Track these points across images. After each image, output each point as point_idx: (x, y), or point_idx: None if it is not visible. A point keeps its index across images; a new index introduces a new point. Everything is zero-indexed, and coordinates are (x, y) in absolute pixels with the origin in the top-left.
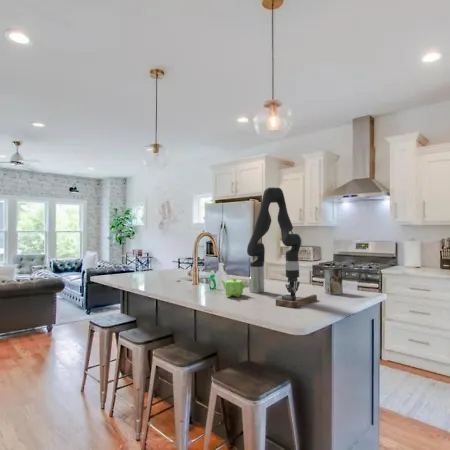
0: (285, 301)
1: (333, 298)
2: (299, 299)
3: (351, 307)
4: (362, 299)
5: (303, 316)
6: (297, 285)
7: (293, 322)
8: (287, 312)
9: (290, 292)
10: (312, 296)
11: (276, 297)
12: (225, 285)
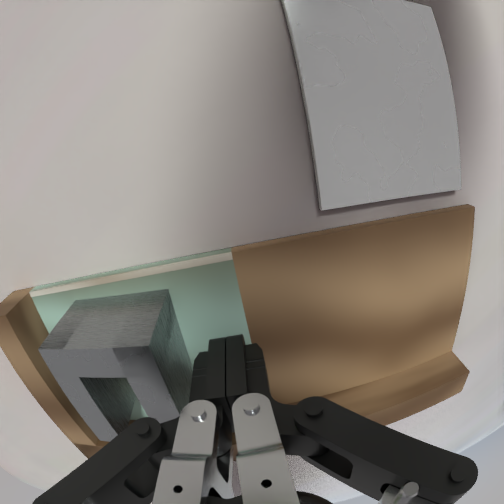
0: (41, 402)
1: (497, 372)
2: None
3: (334, 500)
4: (489, 425)
5: (59, 473)
6: (367, 492)
7: (8, 461)
8: (21, 424)
9: (169, 425)
10: (393, 421)
11: (298, 2)
12: None
